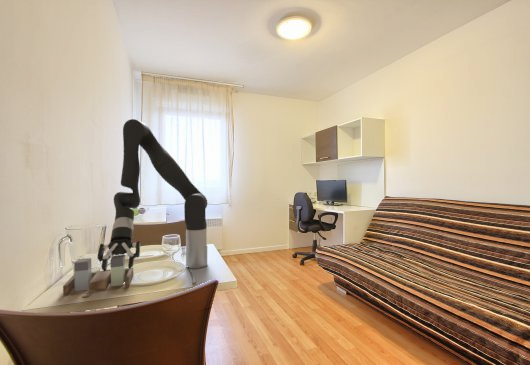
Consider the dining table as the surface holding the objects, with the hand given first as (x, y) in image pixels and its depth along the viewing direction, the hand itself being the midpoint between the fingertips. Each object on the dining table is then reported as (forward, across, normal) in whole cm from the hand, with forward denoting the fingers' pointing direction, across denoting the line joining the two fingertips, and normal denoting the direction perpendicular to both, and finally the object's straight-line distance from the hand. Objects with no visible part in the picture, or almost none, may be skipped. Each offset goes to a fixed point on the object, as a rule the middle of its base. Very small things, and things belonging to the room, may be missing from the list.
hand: (117, 268), depth 93 cm
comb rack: (+4, -6, +6) cm, 9 cm away
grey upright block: (+3, 0, +5) cm, 6 cm away
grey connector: (+3, -11, +5) cm, 13 cm away
